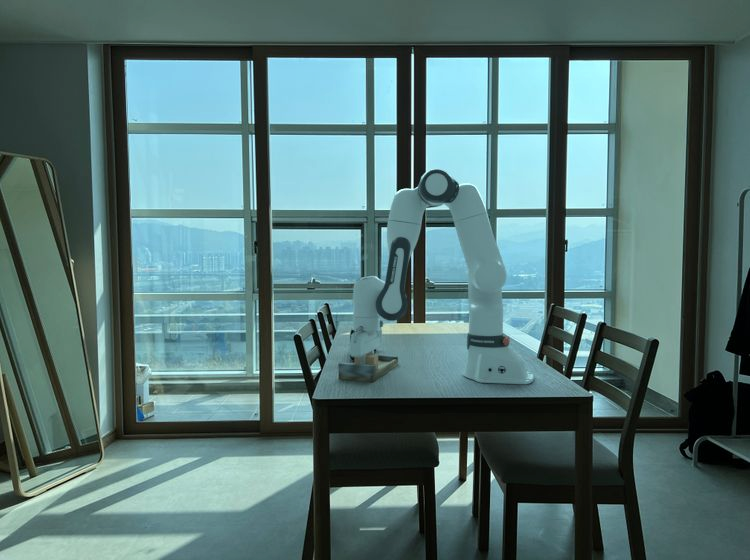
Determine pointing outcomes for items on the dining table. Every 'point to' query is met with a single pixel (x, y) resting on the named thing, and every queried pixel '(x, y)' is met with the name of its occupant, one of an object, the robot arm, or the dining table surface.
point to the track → (367, 369)
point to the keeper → (368, 360)
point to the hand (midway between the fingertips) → (366, 365)
